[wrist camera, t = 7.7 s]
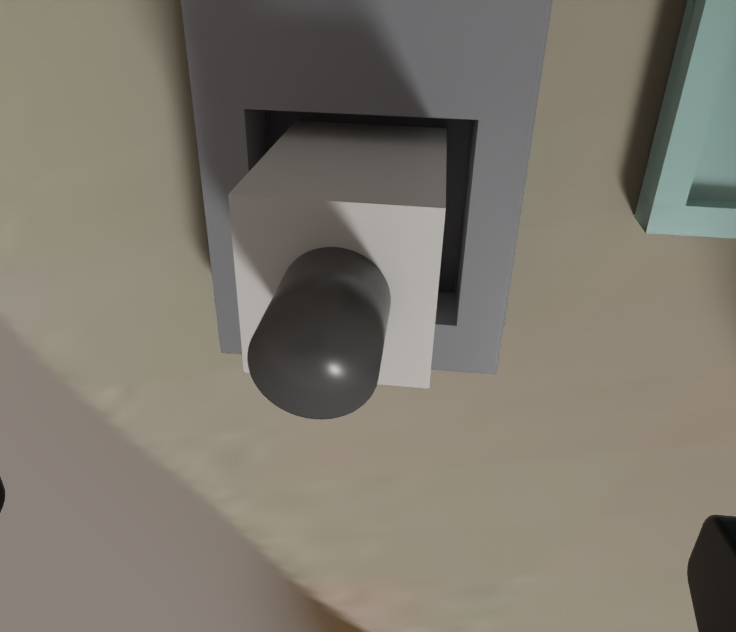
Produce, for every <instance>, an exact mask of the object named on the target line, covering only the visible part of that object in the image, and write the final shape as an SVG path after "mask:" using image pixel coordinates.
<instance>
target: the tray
mask: <svg viewBox="0 0 736 632" xmlns="http://www.w3.org/2000/svg"><path fill="white" fill-rule="evenodd" d="M634 217H635V219H636V220H637V221H638V223H639V224H640V226H641V227H642V229H643V230H644V231H645V233H652V234H669V235H685V236H702V237H718V238H735V239H736V0H687V4H686V8H685V12H684V16H683V21H682V25H681V29H680V33H679V37H678V41H677V45H676V49H675V53H674V57H673V61H672V65H671V69H670V73H669V77H668V82H667V86H666V90H665V94H664V98H663V102H662V106H661V110H660V114H659V118H658V122H657V126H656V130H655V134H654V138H653V143H652V147H651V151H650V155H649V159H648V163H647V167H646V171H645V175H644V179H643V183H642V187H641V191H640V195H639V199H638V204H637V208H636V212H635V216H634Z"/></svg>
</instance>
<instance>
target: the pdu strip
mask: <svg viewBox="0 0 736 632" xmlns="http://www.w3.org/2000/svg"><path fill="white" fill-rule="evenodd" d="M551 6H552V0H181V9H182V18H183V27H184V35H185V44H186V53H187V61H188V70H189V79H190V87H191V96H192V105H193V114H194V122H195V131H196V140H197V148H198V157H199V166H200V175H201V183H202V192H203V201H204V209H205V218H206V227H207V235H208V244H209V253H210V262H211V270H212V279H213V288H214V296H215V305H216V314H217V323H218V331H219V340H220V349H221V353H233V354H242V346H241V335H240V323H239V312H238V301H237V289H236V278H235V267H234V256H233V244H232V233H231V222H230V210H229V199H228V194H229V193H230V192H231V191H232V190H233V189H234V188H235V186H236V185H237V184H238V183H239V182H240V181H241V180H242V179H243V178H244V177H245V176H246V174H247V173H248V172H249V171H250V170H251V169H252V168H253V167H254V166H255V165H256V164H257V163H258V161H259V160H260V159H261V158H262V157H263V156H264V155H265V154H266V153H267V152H268V151H269V149H270V148H271V147H272V146H273V145H274V144H275V143H276V142H277V141H278V140H279V139H280V137H281V136H282V135H283V134H284V133H285V132H286V131H287V130H288V129H289V128H290V127H291V125H292V124H293V123H294V122H295V121H296V120H298V121H317V122H336V123H355V124H374V125H393V126H411V127H430V128H447V158H446V212H445V223H444V234H443V245H442V255H441V266H440V277H439V288H438V299H437V309H436V320H435V331H434V342H433V353H432V363H431V370H444V371H456V372H469V373H481V374H494V375H496V374H497V367H498V360H499V354H500V347H501V340H502V334H503V327H504V320H505V314H506V307H507V300H508V294H509V287H510V280H511V273H512V267H513V260H514V253H515V247H516V240H517V233H518V227H519V220H520V213H521V207H522V200H523V193H524V187H525V180H526V173H527V167H528V160H529V153H530V147H531V140H532V133H533V127H534V120H535V113H536V107H537V100H538V93H539V87H540V80H541V73H542V67H543V60H544V53H545V46H546V40H547V33H548V26H549V20H550V13H551Z"/></svg>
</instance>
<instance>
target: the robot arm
mask: <svg viewBox="0 0 736 632" xmlns="http://www.w3.org/2000/svg"><path fill="white" fill-rule="evenodd" d="M4 501H5V489H4V485H3V483H2V480H1V478H0V512H1V509H2V507H3V504H4ZM687 575H688V583H689V588H690V593H691V598H692V602H693V607H694V612H695V617H696V622H697V627H698V631H699V632H736V517H734V516H724V515H711V516H709V517H708V518H707V519H706V520H705V522H704V523H703V526H702V528H701V531H700V533H699V536H698V538H697V541H696V543H695V546H694V548H693V551H692V553H691V556H690V558H689V561H688V569H687Z"/></svg>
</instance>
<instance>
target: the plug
mask: <svg viewBox="0 0 736 632" xmlns="http://www.w3.org/2000/svg"><path fill="white" fill-rule="evenodd" d="M446 158H447V128H430V127H411V126H393V125H374V124H355V123H336V122H317V121H298V120H296V121H295V122H294V123H293V124H292V125H291V127H290V128H289V129H288V130H287V131H286V132H285V133H284V134H283V135H282V136H281V137H280V139H279V140H278V141H277V142H276V143H275V144H274V145H273V146H272V147H271V148H270V149H269V151H268V152H267V153H266V154H265V155H264V156H263V157H262V158H261V159H260V160H259V161H258V163H257V164H256V165H255V166H254V167H253V168H252V169H251V170H250V171H249V172H248V173H247V174H246V176H245V177H244V178H243V179H242V180H241V181H240V182H239V183H238V184H237V185H236V186H235V188H234V189H233V190H232V191H231V192H230V193H229V194H228V199H229V210H230V222H231V233H232V244H233V256H234V267H235V278H236V289H237V301H238V312H239V323H240V335H241V346H242V357H243V369H244V373H250V374H251V377H252V379H253V381H254V383H255V384H256V386H257V388H258V389H259V390H260V391H261V393H262V394H263V395H264V396H265V397H266V398H267V399H268V400H269V401H271V402H272V403H273V404H275V405H276V406H278V407H279V408H281V409H283V410H285V411H287V412H289V413H291V414H294V415H297V416H300V417H304V418H310V419H332V418H337V417H341V416H344V415H347V414H349V413H352V412H353V411H355V410H357V409H358V408H360V407H361V406H362V405H363V404H365V403H366V401H367V400H368V399H369V398H370V397H371V395H372V394H373V392H374V390H375V388H376V386H377V384H381V385H393V386H404V387H415V388H427V389H429V385H430V374H431V363H432V353H433V342H434V331H435V320H436V309H437V299H438V288H439V277H440V266H441V255H442V245H443V234H444V223H445V212H446Z"/></svg>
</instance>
